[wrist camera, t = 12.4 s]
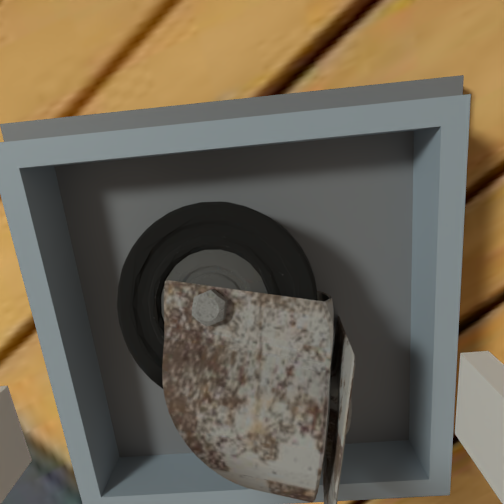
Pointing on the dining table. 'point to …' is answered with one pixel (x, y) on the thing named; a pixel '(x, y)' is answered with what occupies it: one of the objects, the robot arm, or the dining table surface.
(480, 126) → the dining table surface
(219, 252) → the caster wheel
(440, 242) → the tray
